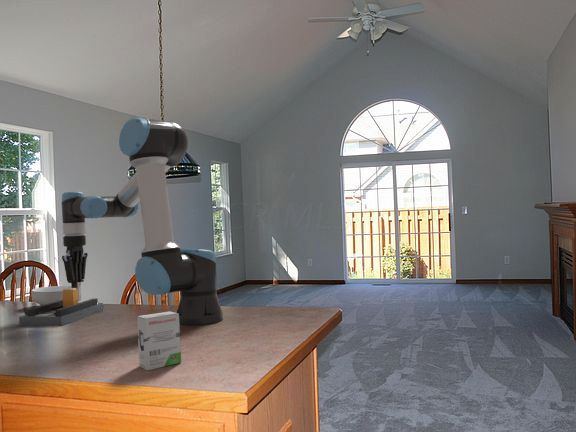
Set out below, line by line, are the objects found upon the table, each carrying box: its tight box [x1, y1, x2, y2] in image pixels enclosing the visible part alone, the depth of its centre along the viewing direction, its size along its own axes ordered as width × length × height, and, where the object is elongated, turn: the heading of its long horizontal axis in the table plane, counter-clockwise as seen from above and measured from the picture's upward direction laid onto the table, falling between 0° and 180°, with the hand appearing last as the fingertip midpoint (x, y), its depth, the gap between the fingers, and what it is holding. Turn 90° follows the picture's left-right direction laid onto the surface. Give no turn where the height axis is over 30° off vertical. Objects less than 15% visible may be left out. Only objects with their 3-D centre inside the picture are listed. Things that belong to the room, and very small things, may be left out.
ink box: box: [136, 311, 182, 371], centre depth 127 cm, size 9×5×12 cm, turn 127°
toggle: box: [63, 288, 79, 307], centre depth 194 cm, size 4×3×6 cm
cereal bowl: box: [30, 285, 72, 306], centre depth 215 cm, size 17×17×7 cm
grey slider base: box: [18, 301, 104, 327], centre depth 189 cm, size 15×26×4 cm, turn 170°
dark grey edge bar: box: [24, 299, 63, 316], centre depth 190 cm, size 2×23×2 cm, turn 170°
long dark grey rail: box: [56, 298, 99, 316], centre depth 188 cm, size 2×23×2 cm, turn 170°
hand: (76, 300), depth 198 cm, fingers closed
